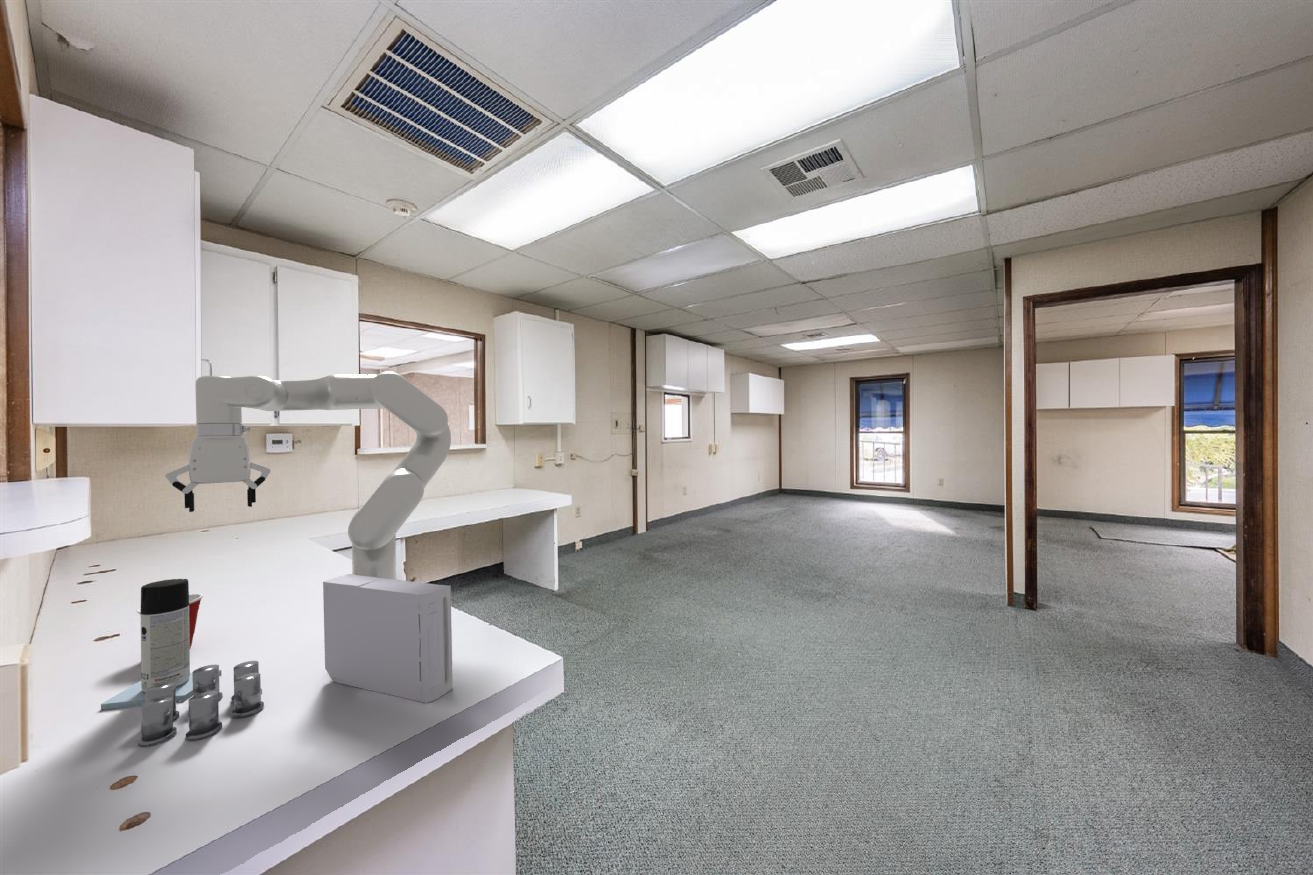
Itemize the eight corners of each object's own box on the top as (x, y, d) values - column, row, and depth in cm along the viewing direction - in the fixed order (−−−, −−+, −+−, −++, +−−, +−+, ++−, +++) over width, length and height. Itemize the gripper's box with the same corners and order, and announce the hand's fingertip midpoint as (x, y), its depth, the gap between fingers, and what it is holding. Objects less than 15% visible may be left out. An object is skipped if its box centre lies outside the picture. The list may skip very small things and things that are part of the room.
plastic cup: (154, 647, 114) (153, 596, 114) (213, 639, 118) (212, 590, 118) (125, 667, 104) (123, 612, 104) (190, 658, 108) (188, 604, 108)
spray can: (164, 677, 97) (161, 578, 97) (200, 675, 98) (197, 577, 98) (130, 695, 90) (128, 589, 90) (170, 693, 91) (167, 587, 91)
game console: (429, 705, 87) (427, 595, 87) (323, 681, 97) (321, 581, 96) (453, 689, 93) (451, 585, 92) (351, 667, 102) (349, 573, 102)
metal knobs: (286, 687, 94) (285, 656, 94) (233, 735, 79) (232, 699, 79) (181, 698, 91) (180, 667, 91) (105, 752, 76) (104, 713, 75)
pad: (221, 674, 100) (221, 669, 100) (185, 700, 90) (185, 694, 90) (146, 682, 97) (146, 677, 97) (100, 709, 88) (100, 704, 88)
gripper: (268, 431, 116) (270, 503, 116) (166, 432, 105) (168, 511, 105) (270, 431, 111) (272, 506, 111) (162, 432, 99) (164, 515, 99)
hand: (221, 508), depth 108 cm, fingers open, 9 cm apart
